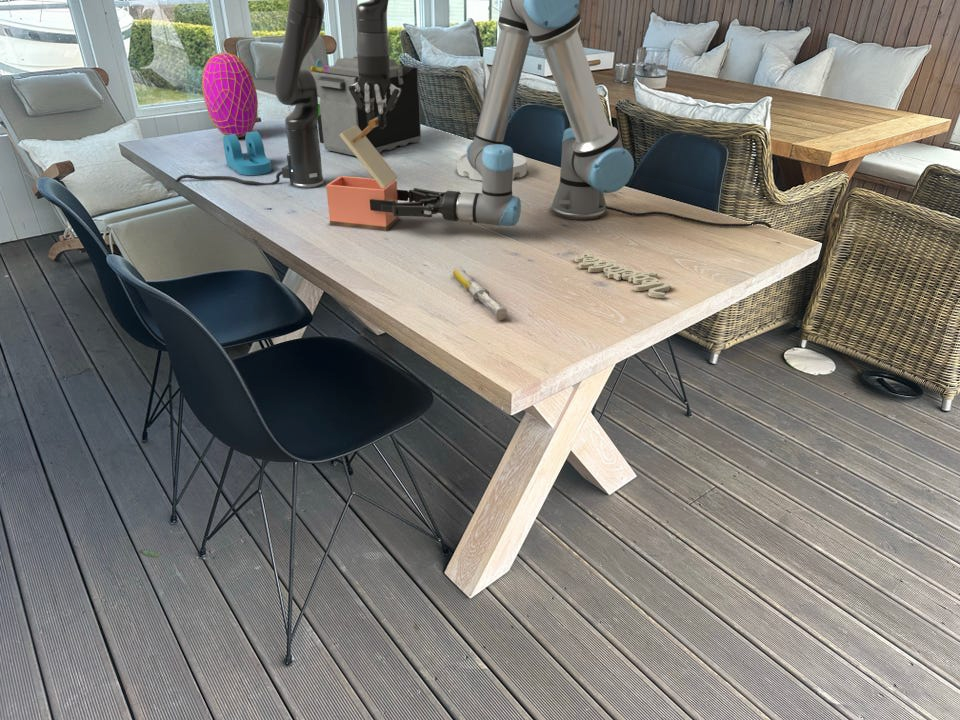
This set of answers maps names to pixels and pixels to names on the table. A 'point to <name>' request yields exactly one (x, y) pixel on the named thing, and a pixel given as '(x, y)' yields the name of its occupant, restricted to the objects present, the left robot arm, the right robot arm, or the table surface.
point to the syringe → (479, 293)
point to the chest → (359, 203)
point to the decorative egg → (230, 94)
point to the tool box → (345, 113)
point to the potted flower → (319, 68)
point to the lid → (369, 153)
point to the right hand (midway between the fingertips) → (377, 199)
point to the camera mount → (246, 154)
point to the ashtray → (468, 171)
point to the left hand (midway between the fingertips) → (376, 127)
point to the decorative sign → (625, 274)
